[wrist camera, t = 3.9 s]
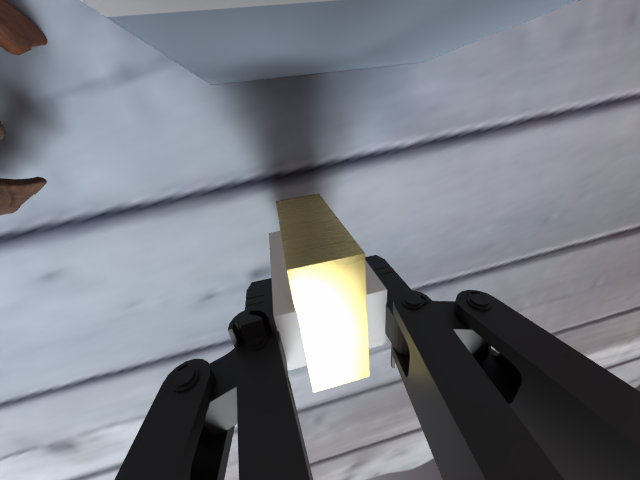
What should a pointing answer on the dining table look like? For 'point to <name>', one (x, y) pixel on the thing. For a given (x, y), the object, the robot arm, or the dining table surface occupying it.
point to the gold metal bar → (326, 290)
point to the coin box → (311, 32)
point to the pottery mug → (3, 194)
